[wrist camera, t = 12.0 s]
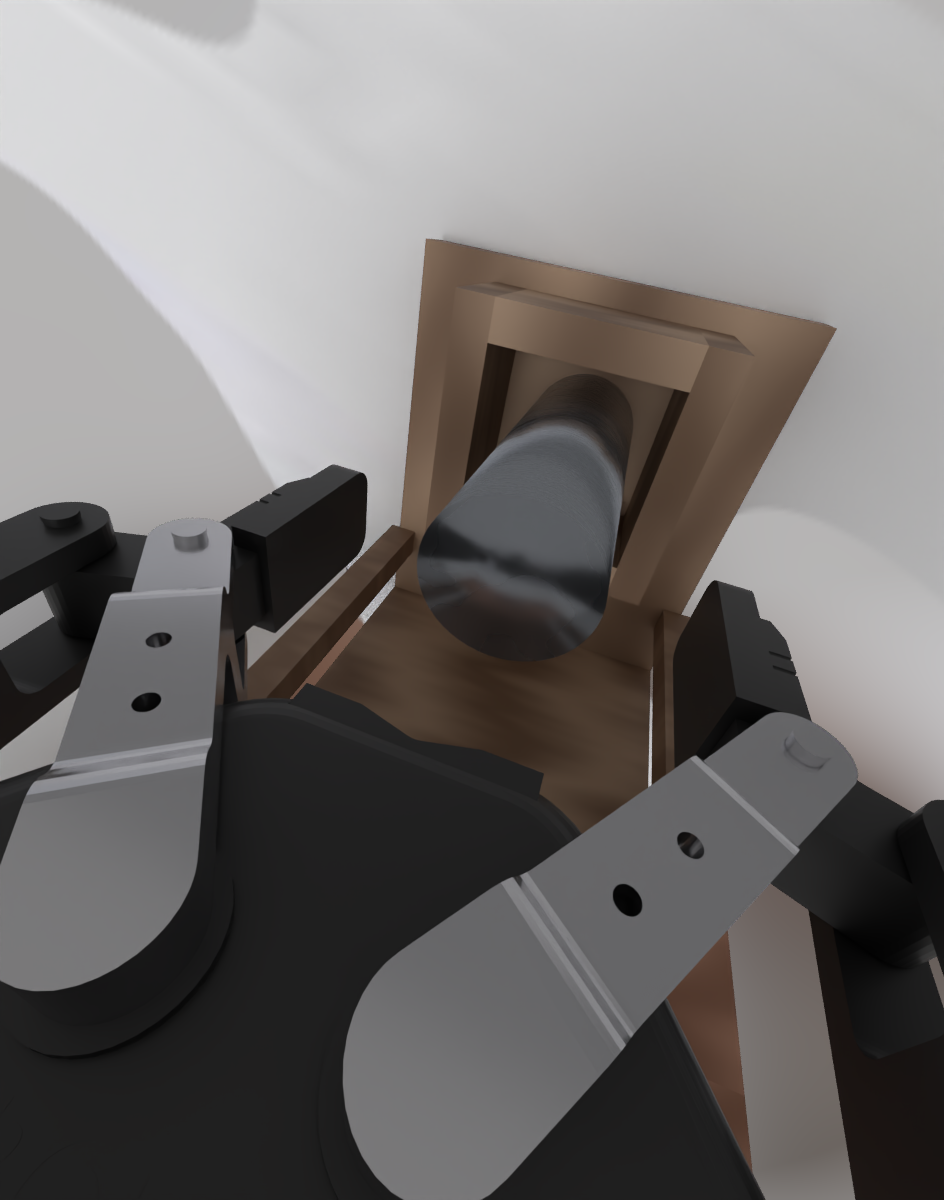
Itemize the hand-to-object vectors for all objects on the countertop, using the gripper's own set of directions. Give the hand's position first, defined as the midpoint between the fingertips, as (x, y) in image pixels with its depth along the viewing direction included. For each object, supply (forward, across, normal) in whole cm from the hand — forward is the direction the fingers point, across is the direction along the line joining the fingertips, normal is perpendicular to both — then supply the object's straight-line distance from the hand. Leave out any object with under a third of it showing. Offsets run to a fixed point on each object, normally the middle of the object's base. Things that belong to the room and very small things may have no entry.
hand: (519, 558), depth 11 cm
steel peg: (+11, 0, 0) cm, 11 cm away
